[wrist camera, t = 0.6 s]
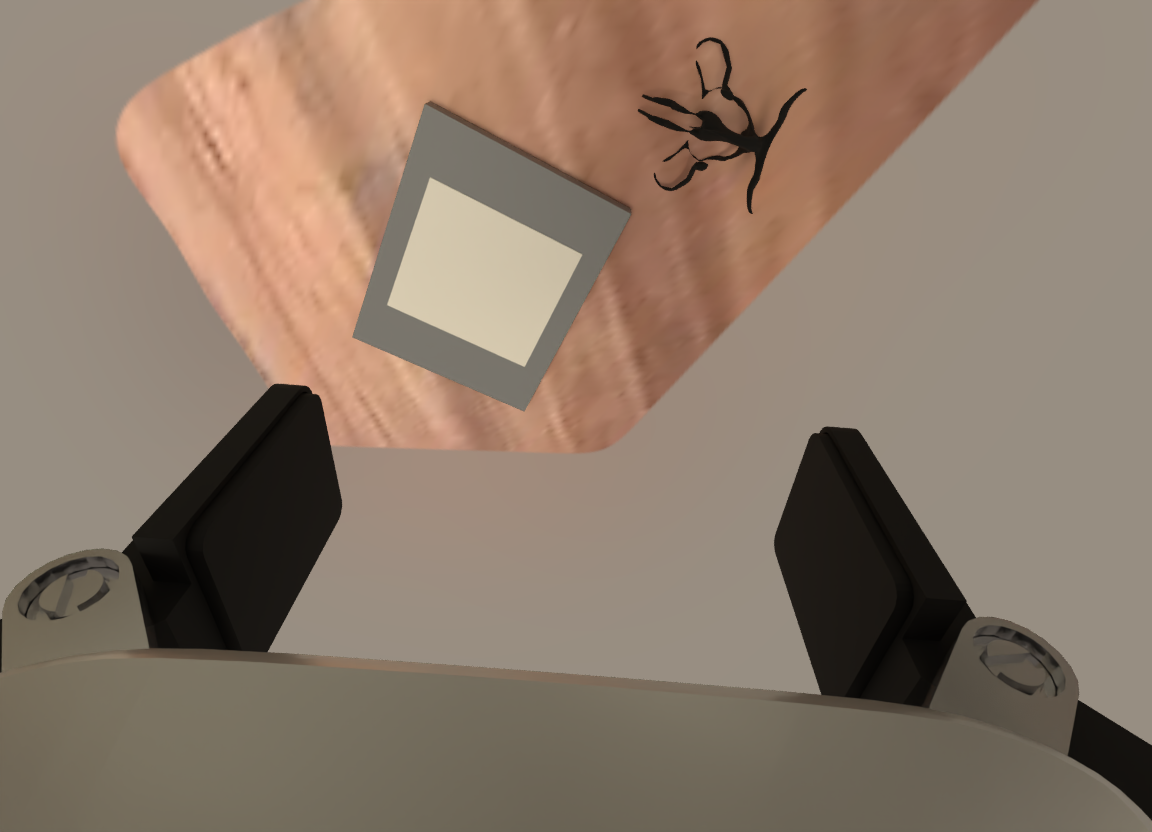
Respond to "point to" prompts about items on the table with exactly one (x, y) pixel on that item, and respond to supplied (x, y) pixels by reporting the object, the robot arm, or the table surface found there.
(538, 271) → the grey picture mat
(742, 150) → the creature
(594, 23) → the table surface
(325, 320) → the table surface
